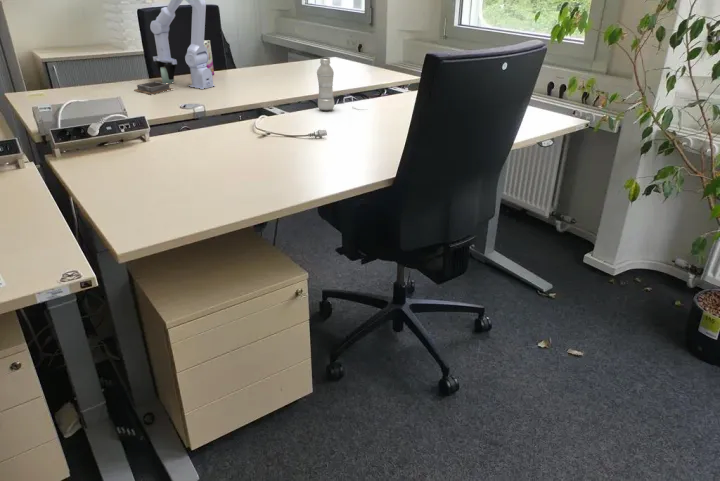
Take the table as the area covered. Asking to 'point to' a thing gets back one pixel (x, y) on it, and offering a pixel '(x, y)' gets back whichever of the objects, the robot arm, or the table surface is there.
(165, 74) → the roll
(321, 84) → the plastic bottle
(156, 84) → the holder
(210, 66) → the candy bar box
